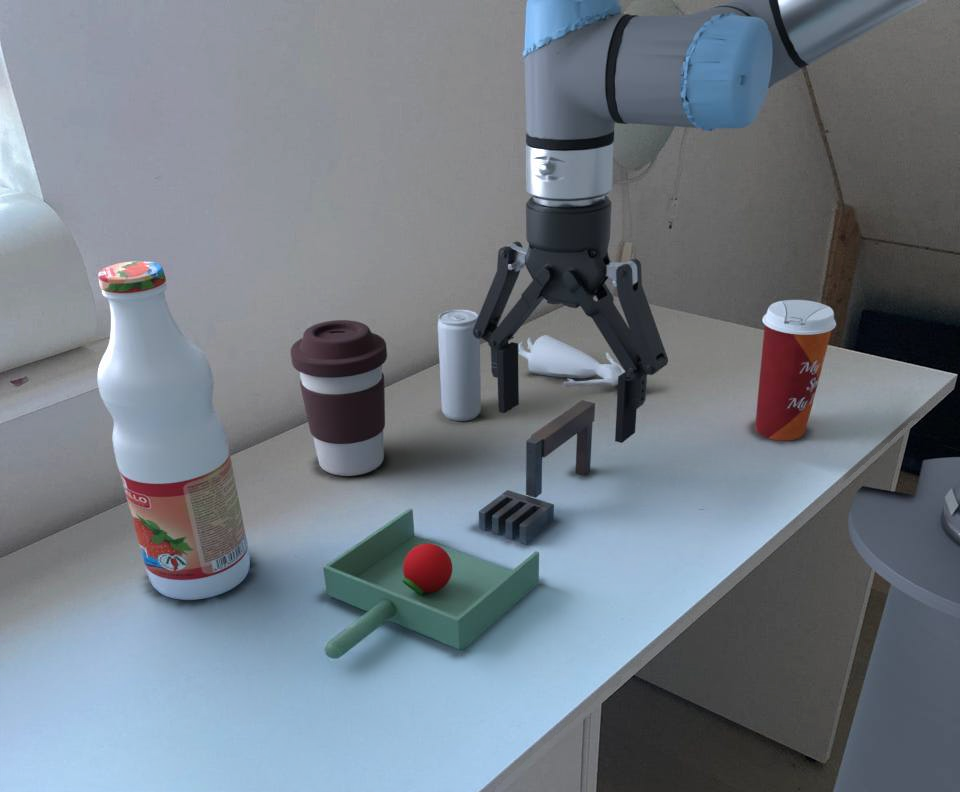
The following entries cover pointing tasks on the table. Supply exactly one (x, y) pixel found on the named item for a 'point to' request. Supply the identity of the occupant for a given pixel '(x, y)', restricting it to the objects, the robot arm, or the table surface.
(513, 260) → the robot arm
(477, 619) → the green dustpan
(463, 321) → the beverage can
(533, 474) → the fork
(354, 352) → the coffee cup
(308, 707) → the table surface
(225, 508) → the fruit juice
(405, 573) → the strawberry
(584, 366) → the woman figurine
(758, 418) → the paper cup
